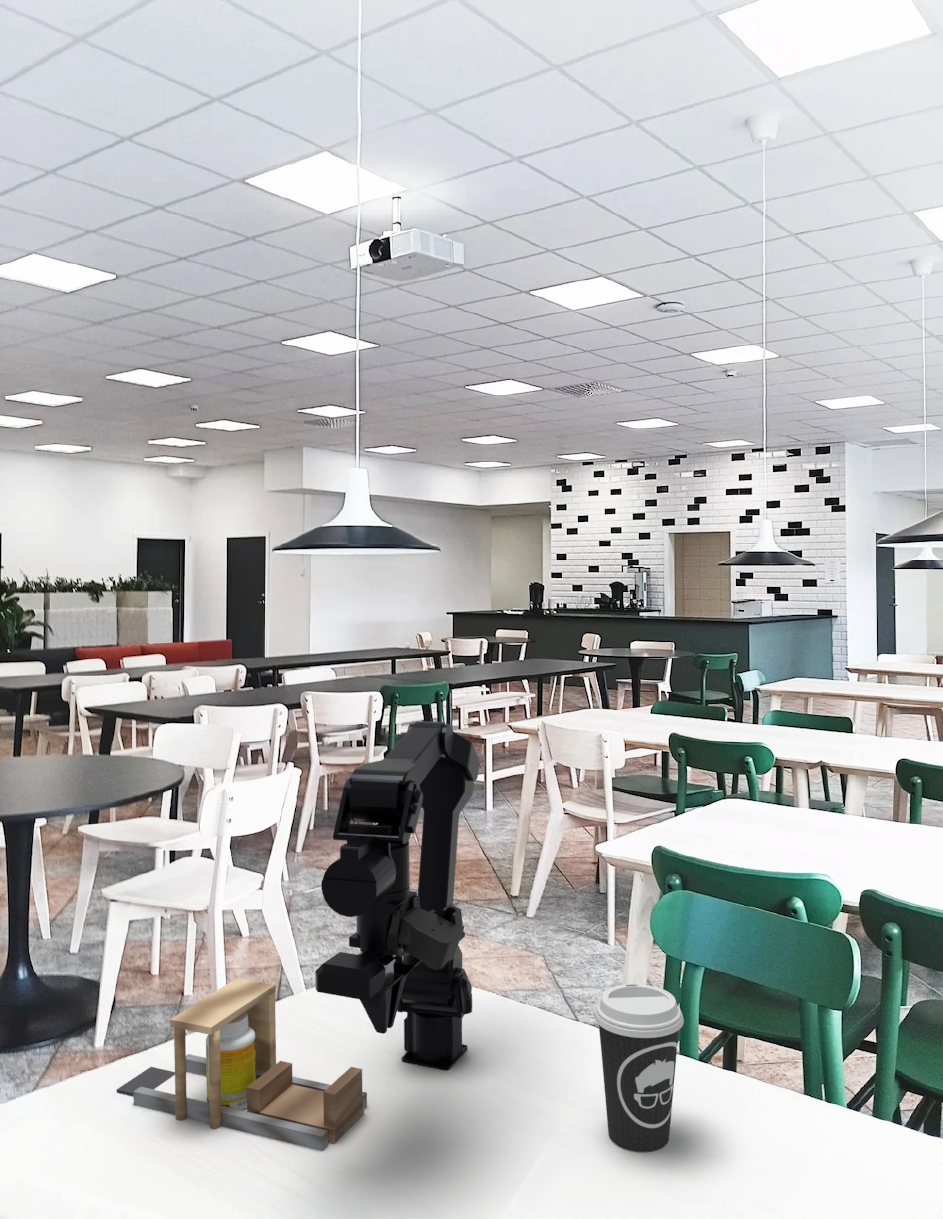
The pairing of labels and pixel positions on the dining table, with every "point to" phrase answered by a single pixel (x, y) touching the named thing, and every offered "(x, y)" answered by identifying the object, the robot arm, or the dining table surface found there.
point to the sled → (308, 1100)
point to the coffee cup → (638, 1063)
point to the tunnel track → (210, 1020)
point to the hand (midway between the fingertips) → (384, 1029)
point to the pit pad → (146, 1080)
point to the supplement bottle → (235, 1062)
